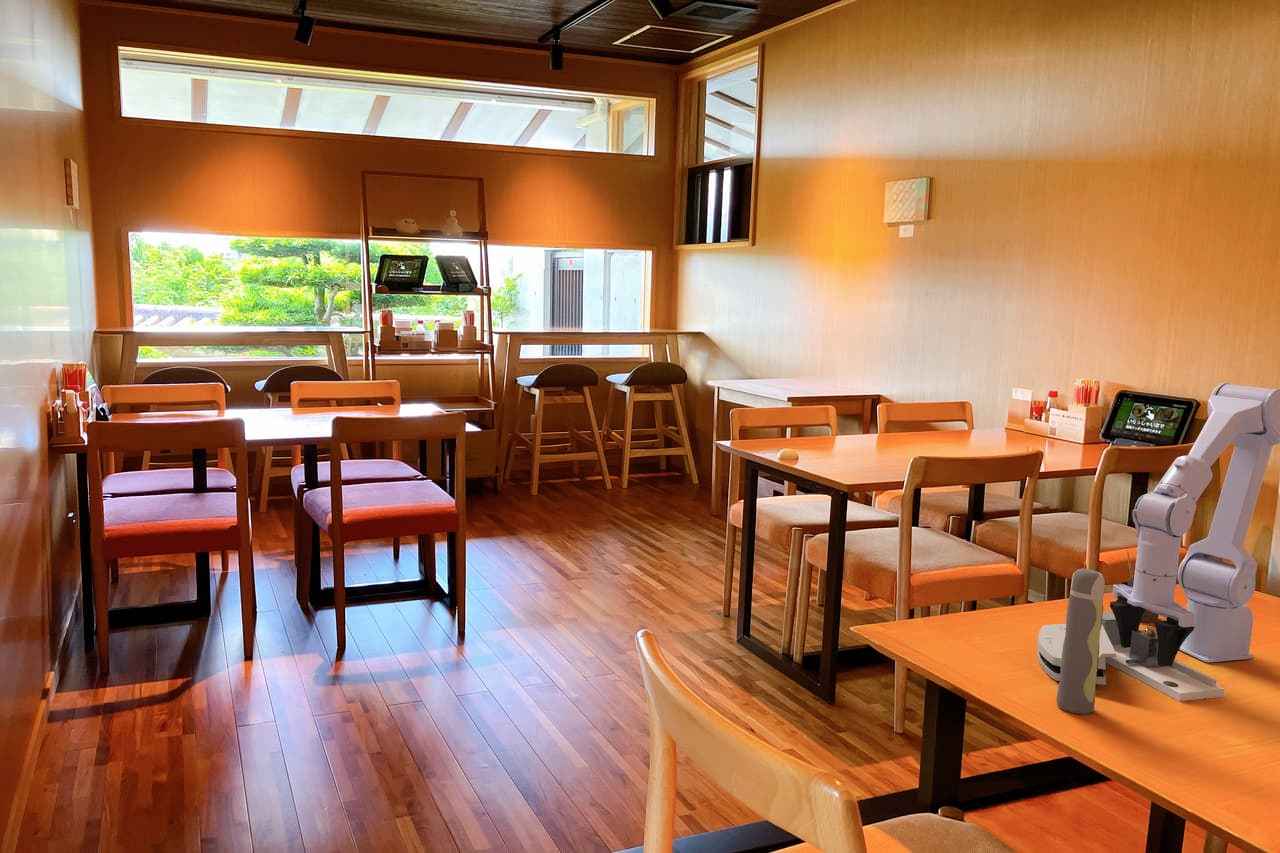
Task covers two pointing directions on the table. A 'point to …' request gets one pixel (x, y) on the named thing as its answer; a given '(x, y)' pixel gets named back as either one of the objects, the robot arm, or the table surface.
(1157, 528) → the robot arm
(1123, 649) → the board
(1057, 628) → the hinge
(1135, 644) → the grey slider block
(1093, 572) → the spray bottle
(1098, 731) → the table surface
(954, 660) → the table surface
